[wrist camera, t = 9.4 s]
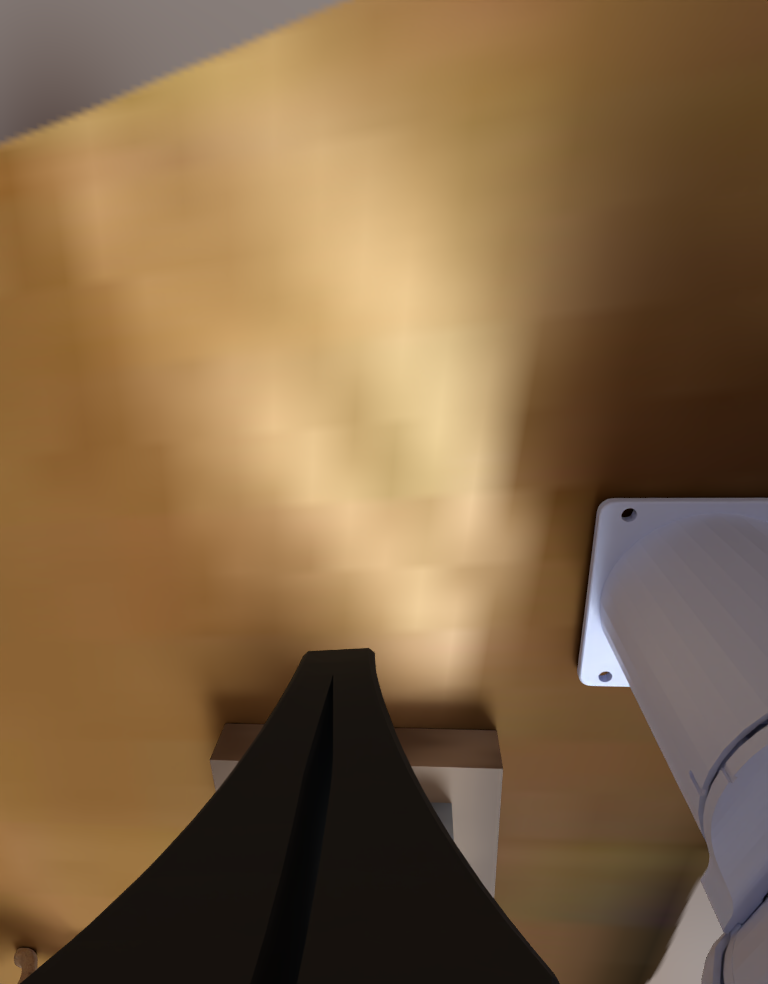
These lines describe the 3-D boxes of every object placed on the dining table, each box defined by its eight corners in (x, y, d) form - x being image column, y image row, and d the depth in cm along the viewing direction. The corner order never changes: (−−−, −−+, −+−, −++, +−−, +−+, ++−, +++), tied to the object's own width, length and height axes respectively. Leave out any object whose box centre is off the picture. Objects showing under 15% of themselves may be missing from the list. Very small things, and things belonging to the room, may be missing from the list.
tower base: (496, 730, 24) (510, 814, 21) (485, 910, 29) (495, 1005, 25) (225, 723, 25) (191, 802, 22) (255, 899, 30) (232, 989, 26)
